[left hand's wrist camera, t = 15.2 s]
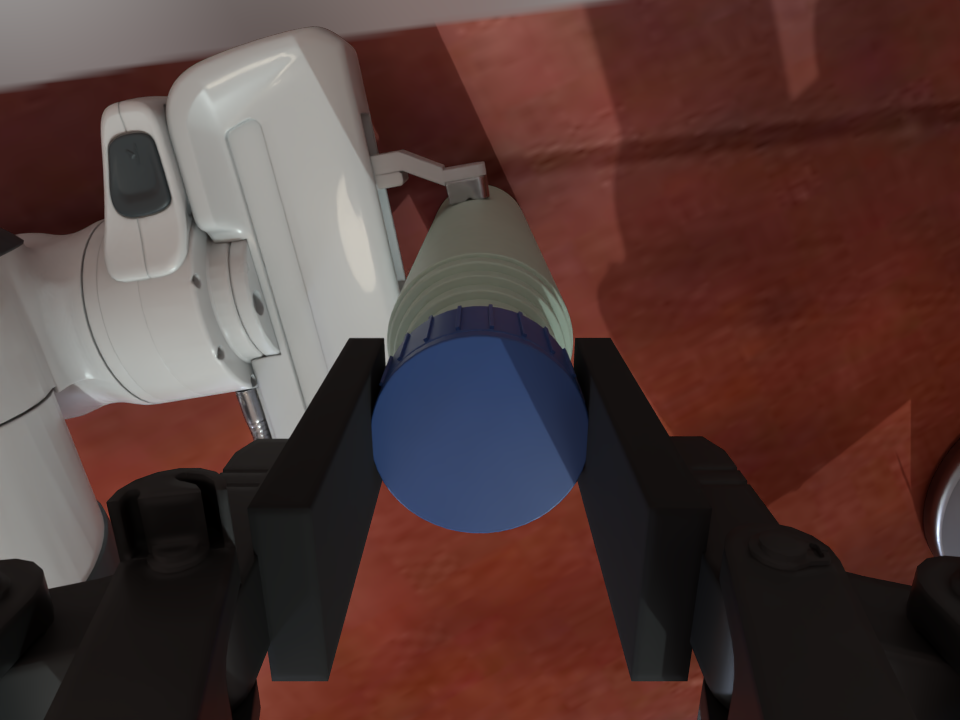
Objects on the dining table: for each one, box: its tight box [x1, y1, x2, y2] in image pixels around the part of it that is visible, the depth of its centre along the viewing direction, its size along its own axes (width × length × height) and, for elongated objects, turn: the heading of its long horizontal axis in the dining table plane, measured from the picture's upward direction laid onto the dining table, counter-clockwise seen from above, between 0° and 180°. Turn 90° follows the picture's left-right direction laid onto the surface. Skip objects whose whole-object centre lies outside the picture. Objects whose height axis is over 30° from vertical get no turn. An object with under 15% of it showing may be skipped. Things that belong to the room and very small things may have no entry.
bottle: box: [387, 185, 573, 361], centre depth 24 cm, size 5×5×24 cm
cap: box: [371, 304, 588, 533], centre depth 13 cm, size 4×4×2 cm
